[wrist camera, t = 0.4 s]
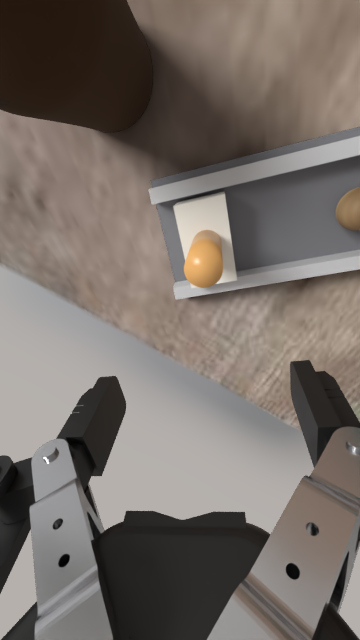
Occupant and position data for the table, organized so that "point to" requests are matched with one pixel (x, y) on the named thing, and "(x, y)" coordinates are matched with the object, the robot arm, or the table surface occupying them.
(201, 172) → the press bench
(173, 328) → the table surface
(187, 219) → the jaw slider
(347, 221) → the walnut
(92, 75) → the olive oil
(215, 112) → the table surface
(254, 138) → the table surface
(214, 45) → the table surface
